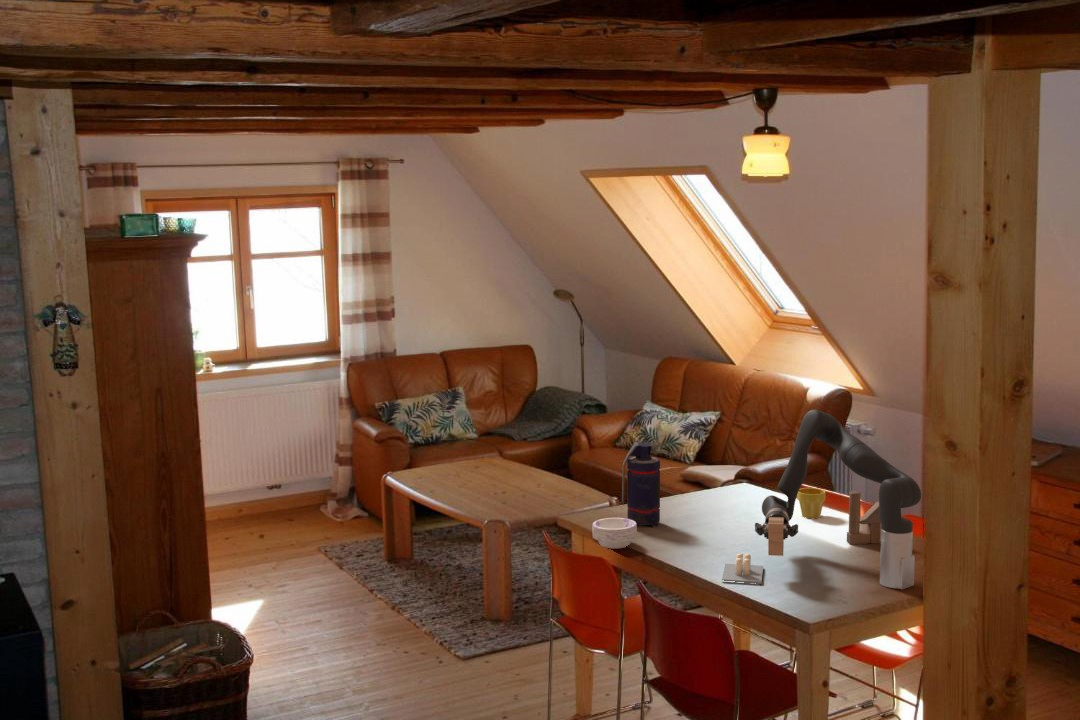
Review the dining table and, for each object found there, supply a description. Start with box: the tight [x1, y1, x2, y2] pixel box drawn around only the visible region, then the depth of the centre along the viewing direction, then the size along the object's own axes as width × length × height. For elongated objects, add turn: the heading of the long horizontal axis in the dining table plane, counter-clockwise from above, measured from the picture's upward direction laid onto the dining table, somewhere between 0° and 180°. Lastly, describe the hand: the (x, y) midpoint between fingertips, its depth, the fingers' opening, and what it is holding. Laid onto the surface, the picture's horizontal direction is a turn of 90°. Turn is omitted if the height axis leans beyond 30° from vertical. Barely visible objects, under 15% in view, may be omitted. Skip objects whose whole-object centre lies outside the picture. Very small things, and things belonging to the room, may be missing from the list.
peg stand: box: [721, 553, 764, 585], centre depth 365 cm, size 16×12×6 cm
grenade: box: [621, 441, 661, 527], centre depth 423 cm, size 14×12×30 cm
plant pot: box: [796, 487, 827, 519], centre depth 432 cm, size 10×10×10 cm
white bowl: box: [591, 517, 638, 550], centre depth 398 cm, size 15×15×8 cm
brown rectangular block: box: [767, 517, 785, 557], centre depth 361 cm, size 8×4×10 cm, turn 167°
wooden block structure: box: [846, 490, 881, 545], centre depth 397 cm, size 4×11×18 cm, turn 95°
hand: (775, 536), depth 357 cm, fingers closed on brown rectangular block, 4 cm apart
